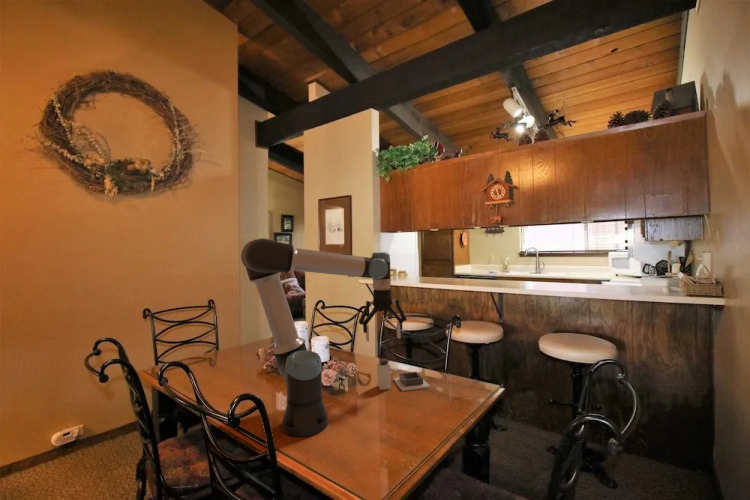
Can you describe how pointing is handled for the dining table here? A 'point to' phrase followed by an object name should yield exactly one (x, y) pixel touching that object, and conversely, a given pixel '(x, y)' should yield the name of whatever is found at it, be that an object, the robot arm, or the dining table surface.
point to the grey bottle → (383, 374)
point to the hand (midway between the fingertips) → (383, 339)
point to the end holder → (411, 381)
